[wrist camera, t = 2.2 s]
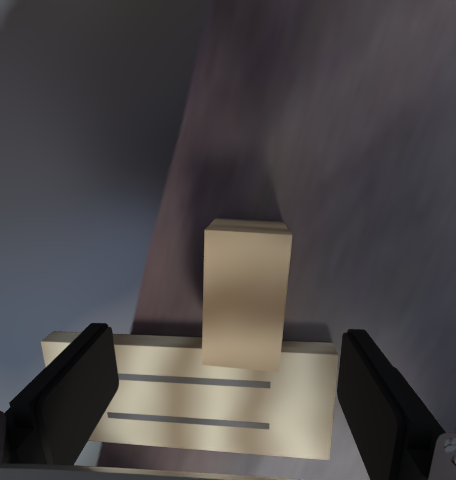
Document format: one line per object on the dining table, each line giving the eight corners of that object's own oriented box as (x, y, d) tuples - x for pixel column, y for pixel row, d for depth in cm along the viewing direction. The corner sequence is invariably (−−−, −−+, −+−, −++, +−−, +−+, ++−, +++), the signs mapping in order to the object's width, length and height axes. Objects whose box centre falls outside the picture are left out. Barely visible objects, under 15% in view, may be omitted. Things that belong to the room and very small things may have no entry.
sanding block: (216, 217, 20) (204, 229, 15) (282, 221, 20) (292, 235, 15) (212, 324, 22) (201, 364, 18) (273, 329, 22) (278, 372, 17)
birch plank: (332, 342, 22) (338, 355, 20) (324, 442, 24) (329, 460, 22) (53, 331, 24) (40, 341, 22) (70, 423, 26) (59, 438, 24)
